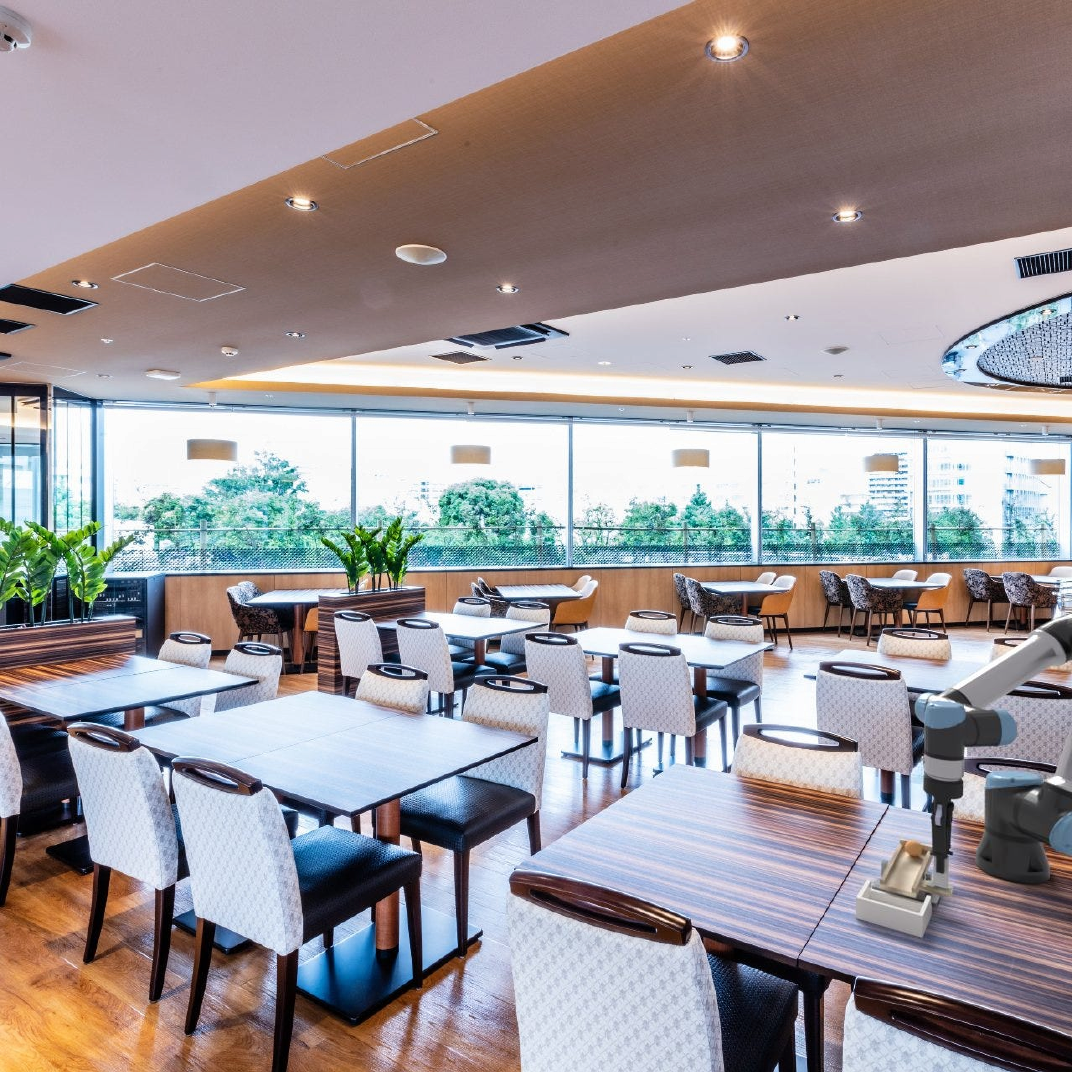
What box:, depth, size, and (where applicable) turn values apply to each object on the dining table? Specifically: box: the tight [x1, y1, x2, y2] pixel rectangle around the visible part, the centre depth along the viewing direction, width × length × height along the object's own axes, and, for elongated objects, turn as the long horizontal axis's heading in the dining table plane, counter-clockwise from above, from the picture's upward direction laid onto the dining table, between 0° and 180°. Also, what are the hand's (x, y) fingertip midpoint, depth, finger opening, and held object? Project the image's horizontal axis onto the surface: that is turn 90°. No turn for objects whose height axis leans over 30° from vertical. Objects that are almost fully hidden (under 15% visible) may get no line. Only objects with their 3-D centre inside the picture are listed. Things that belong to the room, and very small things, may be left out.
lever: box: [880, 837, 954, 899], centre depth 170 cm, size 13×21×3 cm, turn 144°
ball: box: [905, 839, 922, 856], centre depth 177 cm, size 4×4×4 cm
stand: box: [871, 859, 941, 907], centre depth 171 cm, size 13×5×6 cm, turn 54°
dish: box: [855, 878, 933, 939], centre depth 161 cm, size 13×11×4 cm
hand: (940, 885), depth 163 cm, fingers closed
